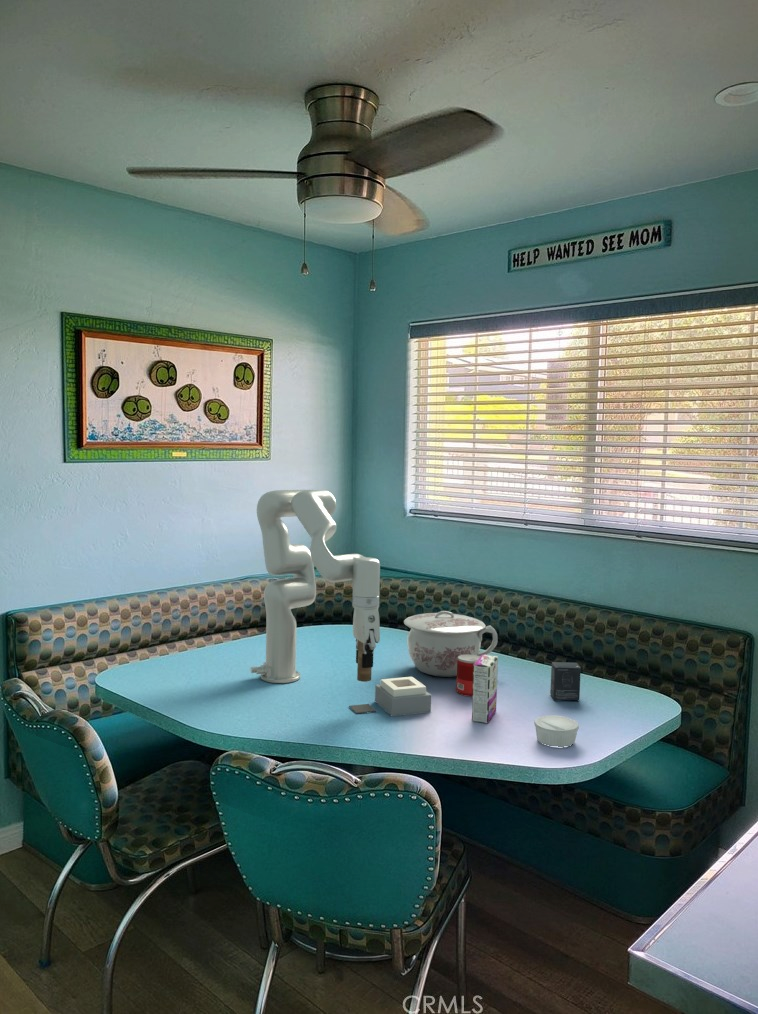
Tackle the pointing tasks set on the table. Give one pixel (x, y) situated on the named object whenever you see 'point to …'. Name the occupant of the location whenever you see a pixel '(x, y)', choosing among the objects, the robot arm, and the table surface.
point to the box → (565, 681)
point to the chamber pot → (444, 641)
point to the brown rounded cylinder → (362, 673)
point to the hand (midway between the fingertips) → (364, 664)
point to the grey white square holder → (403, 696)
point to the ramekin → (556, 730)
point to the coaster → (362, 708)
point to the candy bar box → (484, 688)
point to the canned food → (465, 674)
